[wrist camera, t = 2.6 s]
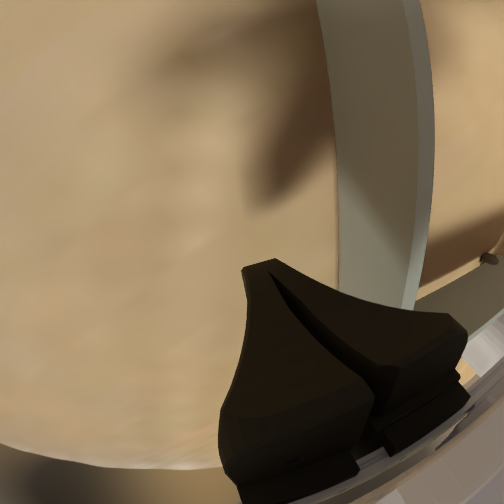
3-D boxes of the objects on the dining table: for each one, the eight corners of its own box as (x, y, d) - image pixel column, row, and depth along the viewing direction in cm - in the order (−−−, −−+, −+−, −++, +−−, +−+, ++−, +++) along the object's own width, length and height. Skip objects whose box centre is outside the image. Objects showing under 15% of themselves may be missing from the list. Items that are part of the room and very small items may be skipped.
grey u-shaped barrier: (490, 257, 22) (531, 286, 17) (329, 336, 19) (374, 401, 14) (490, -14, 9) (543, -13, 4) (277, -99, 6) (332, -155, 1)
